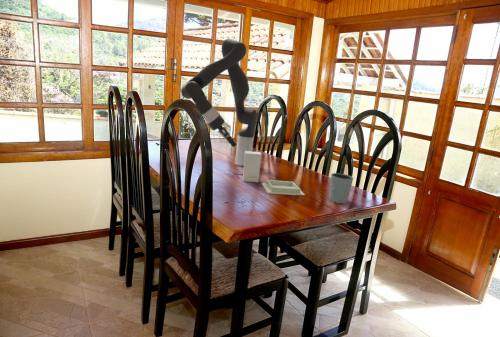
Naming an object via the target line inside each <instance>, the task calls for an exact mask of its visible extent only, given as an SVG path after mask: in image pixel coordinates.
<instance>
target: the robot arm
mask: <svg viewBox="0 0 500 337" xmlns="http://www.w3.org/2000/svg"><path fill="white" fill-rule="evenodd" d="M246 53H247V46H246V45H245V43H244V42H242V41H239V40H235V39H231V38H226V39H224V41H222V44H221V55H222V58H220V59H218V60H216V61H214V62H211V63H208V64H206V66H204V67H203V68H202V69H200V71H198V72H197V74H196V75H195V76H194V77H192V78H191V79H189V80H188V81H186V82H185V83H184V84H183V85H182V87H181V89H180V94H181V96H182V97H183V98H184V99H188V100H192V101H193V103H194V106H195V105H196V107H197V108H198V110H199V111H200V113H201V114H202V116H203V118H204V119H203V118H202V119H203V120H205V121H204V122H205V123H206V124H207V125H208V126H209V128H210V129H211V130H212V131H216V130H218V131H217V132H218V133H219V135H221V137H223V139H225V141H227V143H229V144H230V146H232V148H234V147H236V152H235V159H234V164H235V165H236V166H240V167H244V158H245V151H252V152H253V145H254V137H255V136H254V135H255V133H256V128H257V127H256V126H257V121H258V111H257V110H256V109H253V108H246V107H245V103H244V102H245V100H246V99H247V97H248V95H249V92H250V85H249V80H248V77H247V76H246V74H245V72H244V70H243V69H242V68H241V66H240V64H239V62H241V61H242V60H243V59H244V58H245V56H246ZM226 70H227V73H228V76H229V77H228V78H229V82H230V86H231V87H230V88H231V90H232V91H231V92H232V94H233V99H234V103H235V112H236V113H235V114H236V119H237V121H238V123H239V124H242V125H247V127H246V128H243V129H240V130H239V131H238V132H237V139H236V140H237V141H236V142H235V140H234V139H233V137H232V136H231V134H230V132H229V131H228V129H227V128H226V127H225V126H223V125H224V123H225V119H224V117H223V116H221V114H220V113H219V111H218V110H217V109H216V108H215V107H214V106H213V104H212V103H211V102H210V101H209V100H208V98H207V96H206V94H205V92H204V90H203V89H204V88H206V87H207V86H208V85H209V84H211V83H212V82H213V81H214V80H215V79H216V78H218V76H220V75H221V74H222V73H223V72H225V71H226ZM200 113H199V114H200ZM202 116H201V117H202Z"/></svg>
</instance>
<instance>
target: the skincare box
mask: <svg viewBox="0 0 500 337" xmlns="http://www.w3.org/2000/svg"><path fill="white" fill-rule="evenodd" d="M261 160H262V153H261V151H253V150H252V151H245V158H244V166H243V170H242V171H243V173H242V182H252V183H259V179H260V169H261Z"/></svg>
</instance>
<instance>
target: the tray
mask: <svg viewBox="0 0 500 337" xmlns="http://www.w3.org/2000/svg"><path fill="white" fill-rule="evenodd" d="M261 186H262V187H263V188H264V190H265V192H266V193H267V194H269V195H270V194H272V195H274V194H275V195H289V196H305V195H306V194H305V192H303V191H302V190H301V188H300V187H299V186H298V185H297V184H296V183H295V182H294V181H290V180H289V181H288V180H287V181H285V180H273V179H267V180H266V182H261Z"/></svg>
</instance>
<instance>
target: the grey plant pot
mask: <svg viewBox="0 0 500 337" xmlns="http://www.w3.org/2000/svg"><path fill="white" fill-rule="evenodd" d="M353 180H354V177H353V176H351V175H350V174H346V173H345V174H344V173H339V172H333V173H331V174H330V184H329V193H328V200H329V201H330V200H331V201H330V202H332V201H333V202H332V203H335V202H336V203H335V204H340V203H345V204H347V203H348V200H349V196H350V192H351V188H352V184H353ZM346 202H347V203H346Z"/></svg>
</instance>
